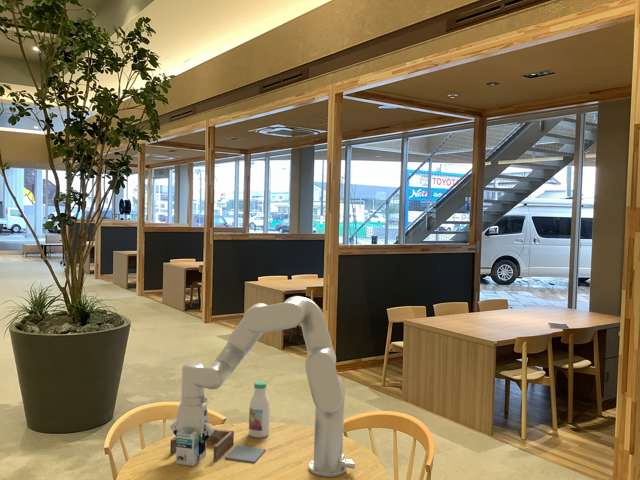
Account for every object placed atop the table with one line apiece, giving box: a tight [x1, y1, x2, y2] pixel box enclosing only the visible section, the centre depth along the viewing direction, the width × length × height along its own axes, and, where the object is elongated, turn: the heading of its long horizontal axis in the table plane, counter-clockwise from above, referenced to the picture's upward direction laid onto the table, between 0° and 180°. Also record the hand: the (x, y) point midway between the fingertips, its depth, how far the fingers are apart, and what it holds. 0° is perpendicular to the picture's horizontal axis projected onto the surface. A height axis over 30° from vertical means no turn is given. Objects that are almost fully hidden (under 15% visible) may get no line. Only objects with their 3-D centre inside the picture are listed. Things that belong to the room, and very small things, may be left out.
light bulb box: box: [175, 429, 207, 467], centre depth 200 cm, size 11×7×11 cm, turn 168°
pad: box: [224, 444, 266, 464], centre depth 205 cm, size 11×11×1 cm
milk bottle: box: [248, 380, 271, 439], centre depth 223 cm, size 8×8×20 cm
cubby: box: [169, 427, 235, 462], centre depth 208 cm, size 17×15×5 cm
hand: (191, 450), depth 200 cm, fingers closed on light bulb box, 6 cm apart
